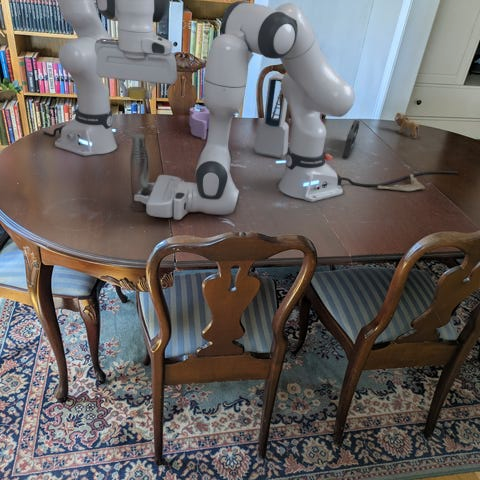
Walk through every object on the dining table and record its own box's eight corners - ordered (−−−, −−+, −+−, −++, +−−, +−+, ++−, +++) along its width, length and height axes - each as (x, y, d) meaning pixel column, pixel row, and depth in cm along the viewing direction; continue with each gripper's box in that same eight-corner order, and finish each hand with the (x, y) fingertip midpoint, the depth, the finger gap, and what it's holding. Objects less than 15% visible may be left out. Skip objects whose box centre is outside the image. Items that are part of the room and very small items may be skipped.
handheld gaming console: (349, 160, 187) (354, 136, 182) (342, 158, 188) (347, 134, 183) (355, 142, 206) (361, 119, 201) (349, 140, 207) (354, 118, 201)
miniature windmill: (286, 130, 210) (297, 60, 194) (268, 127, 211) (277, 58, 195) (288, 124, 218) (299, 56, 202) (271, 121, 219) (279, 54, 203)
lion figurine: (389, 131, 223) (394, 112, 218) (394, 128, 227) (399, 110, 222) (418, 140, 216) (424, 121, 211) (422, 137, 219) (428, 119, 214)
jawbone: (429, 189, 172) (431, 184, 171) (394, 201, 161) (396, 196, 160) (410, 177, 177) (412, 172, 176) (375, 189, 167) (376, 184, 165)
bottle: (148, 202, 143) (146, 132, 131) (149, 210, 139) (148, 139, 127) (131, 203, 142) (128, 132, 130) (132, 211, 138) (130, 139, 126)
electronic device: (287, 153, 187) (299, 77, 171) (282, 160, 181) (294, 81, 165) (257, 147, 190) (266, 71, 174) (252, 153, 184) (260, 75, 167)
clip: (182, 123, 206) (183, 107, 202) (209, 122, 210) (210, 106, 207) (197, 140, 191) (197, 123, 187) (225, 138, 195) (226, 122, 191)
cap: (129, 93, 124) (129, 86, 123) (147, 95, 125) (147, 87, 124) (127, 98, 121) (127, 90, 120) (145, 100, 121) (145, 92, 120)
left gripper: (90, 39, 112) (94, 97, 120) (175, 48, 113) (174, 104, 121) (97, 35, 118) (101, 90, 125) (178, 43, 119) (177, 97, 126)
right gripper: (188, 172, 145) (144, 167, 145) (178, 203, 128) (128, 198, 128) (188, 190, 149) (144, 185, 148) (178, 222, 131) (129, 218, 131)
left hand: (137, 97), depth 123 cm, fingers closed on cap, 4 cm apart
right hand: (137, 191), depth 138 cm, fingers closed on bottle, 5 cm apart
